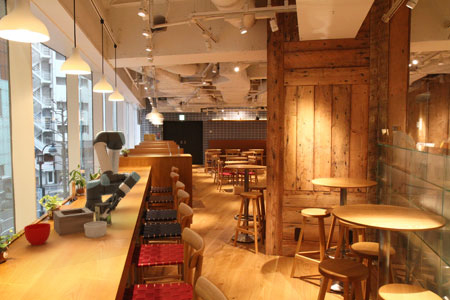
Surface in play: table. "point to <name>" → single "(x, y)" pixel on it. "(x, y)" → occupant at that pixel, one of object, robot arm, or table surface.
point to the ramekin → (95, 229)
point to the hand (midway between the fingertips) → (100, 215)
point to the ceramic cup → (37, 233)
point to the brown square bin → (72, 220)
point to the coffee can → (102, 212)
